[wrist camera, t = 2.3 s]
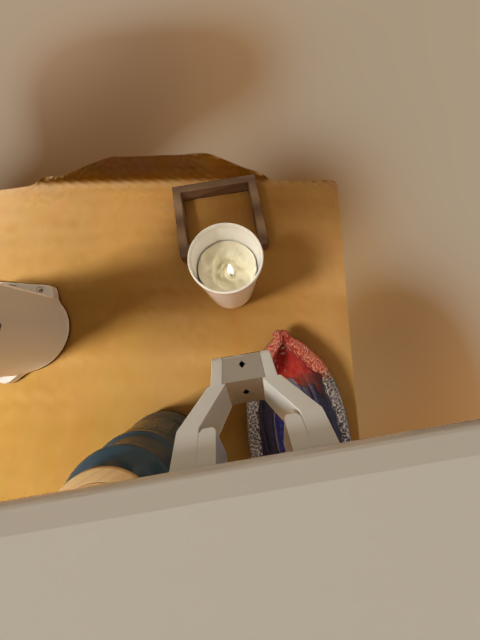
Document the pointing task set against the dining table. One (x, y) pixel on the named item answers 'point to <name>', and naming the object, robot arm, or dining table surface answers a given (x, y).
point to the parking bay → (212, 190)
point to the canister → (131, 453)
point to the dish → (307, 377)
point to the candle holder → (226, 263)
